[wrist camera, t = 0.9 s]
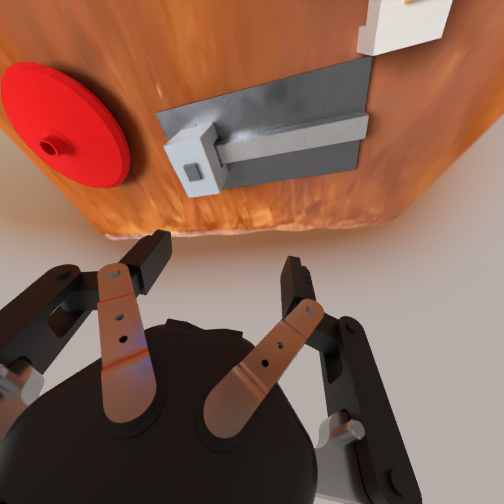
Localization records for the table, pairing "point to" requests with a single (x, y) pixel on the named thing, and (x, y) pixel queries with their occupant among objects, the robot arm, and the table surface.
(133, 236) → the table surface
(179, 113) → the rail
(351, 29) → the table surface
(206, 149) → the mounted module
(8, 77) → the red disc with nozzle
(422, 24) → the block
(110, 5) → the table surface
